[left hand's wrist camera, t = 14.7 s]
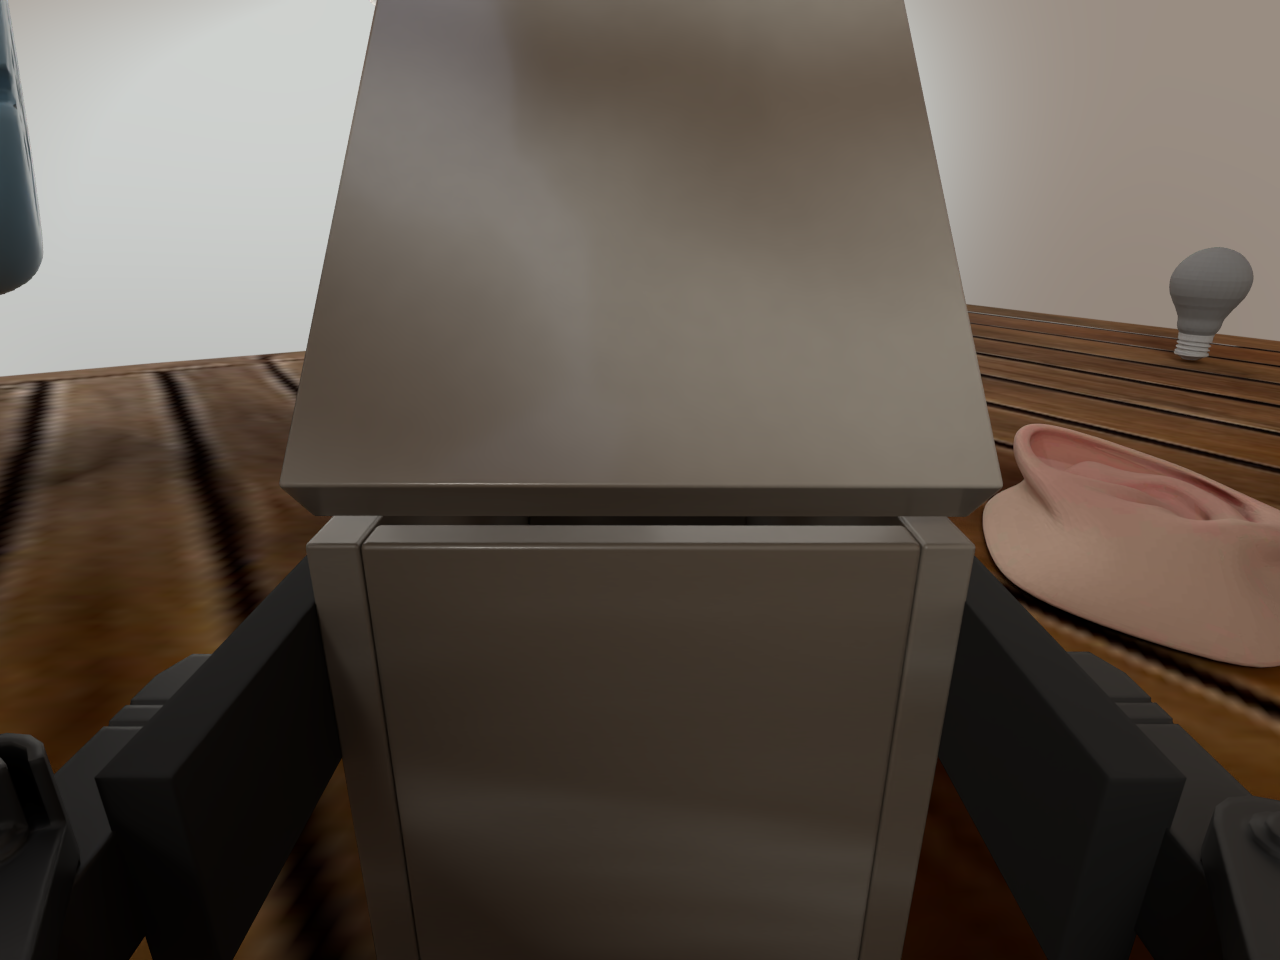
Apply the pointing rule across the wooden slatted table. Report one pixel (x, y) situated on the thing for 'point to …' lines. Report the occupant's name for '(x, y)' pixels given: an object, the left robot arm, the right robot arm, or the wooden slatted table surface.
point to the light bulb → (1207, 296)
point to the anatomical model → (1140, 546)
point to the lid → (640, 271)
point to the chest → (639, 729)
